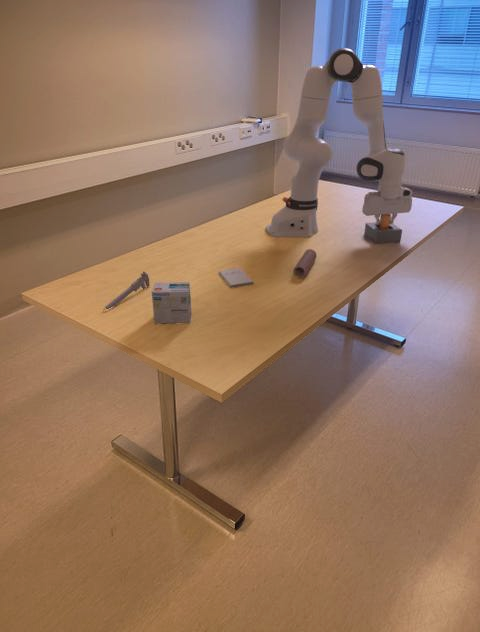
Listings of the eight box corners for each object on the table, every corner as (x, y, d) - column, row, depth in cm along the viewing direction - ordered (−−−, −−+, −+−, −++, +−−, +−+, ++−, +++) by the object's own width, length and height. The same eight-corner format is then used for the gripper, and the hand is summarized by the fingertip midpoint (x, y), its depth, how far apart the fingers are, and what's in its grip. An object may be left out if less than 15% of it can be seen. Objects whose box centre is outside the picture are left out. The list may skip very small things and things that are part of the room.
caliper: (147, 287, 169) (145, 269, 166) (149, 288, 169) (148, 270, 165) (102, 312, 154) (99, 293, 150) (105, 313, 153) (102, 294, 150)
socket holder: (375, 243, 205) (377, 231, 202) (364, 234, 214) (365, 223, 212) (400, 241, 207) (402, 230, 204) (388, 232, 216) (389, 221, 214)
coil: (306, 268, 173) (318, 249, 187) (293, 265, 174) (306, 247, 188) (304, 280, 175) (316, 261, 190) (291, 277, 176) (304, 258, 191)
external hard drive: (230, 289, 169) (218, 274, 179) (253, 285, 171) (240, 271, 181) (230, 285, 168) (218, 270, 178) (253, 281, 170) (240, 267, 181)
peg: (381, 235, 208) (383, 216, 204) (376, 232, 211) (379, 213, 207) (389, 234, 209) (392, 216, 205) (385, 231, 212) (388, 212, 208)
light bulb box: (191, 313, 153) (190, 281, 148) (190, 324, 147) (189, 291, 142) (156, 313, 153) (153, 281, 147) (154, 324, 147) (151, 291, 142)
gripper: (368, 194, 196) (364, 228, 203) (416, 191, 200) (410, 224, 207) (361, 190, 202) (357, 223, 209) (408, 187, 206) (402, 219, 213)
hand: (384, 224), depth 208 cm, fingers closed on peg, 4 cm apart
